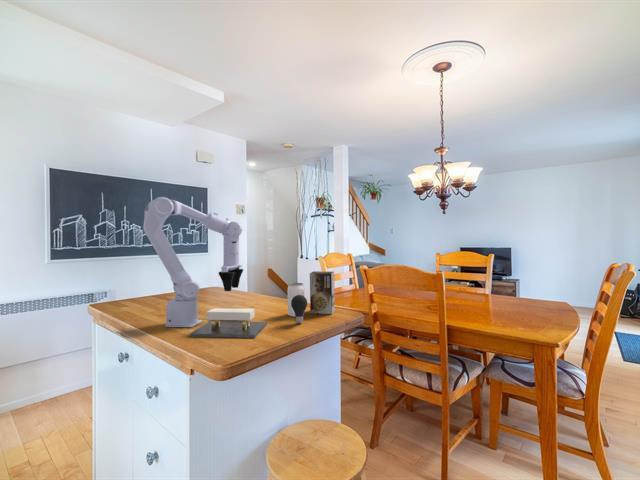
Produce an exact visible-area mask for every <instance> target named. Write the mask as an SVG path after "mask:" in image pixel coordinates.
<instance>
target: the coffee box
mask: <svg viewBox="0 0 640 480" xmlns="http://www.w3.org/2000/svg"><path fill="white" fill-rule="evenodd" d="M335 300H336V299H335V271H323V270H322V271H321V270H320V271H314V270H313V271H311V272H309V307H310V308H309V310H310V311H309V313H310V314H316V313H319V315H333V313H334V312H336V305H335V303H336V301H335Z"/></svg>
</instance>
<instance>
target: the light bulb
mask: <svg viewBox="0 0 640 480" xmlns="http://www.w3.org/2000/svg"><path fill="white" fill-rule="evenodd" d="M291 306H292V308H293V310H294V312H295V316H296V317H295V322H296V323H297V324H298V325H301V324H302V323H303V322H304V315H305V311H306V309H307V307H308V300H307V298H306V297H305V295H304V296H303V295H296V296H295V297H293V299H292V301H291Z"/></svg>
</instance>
